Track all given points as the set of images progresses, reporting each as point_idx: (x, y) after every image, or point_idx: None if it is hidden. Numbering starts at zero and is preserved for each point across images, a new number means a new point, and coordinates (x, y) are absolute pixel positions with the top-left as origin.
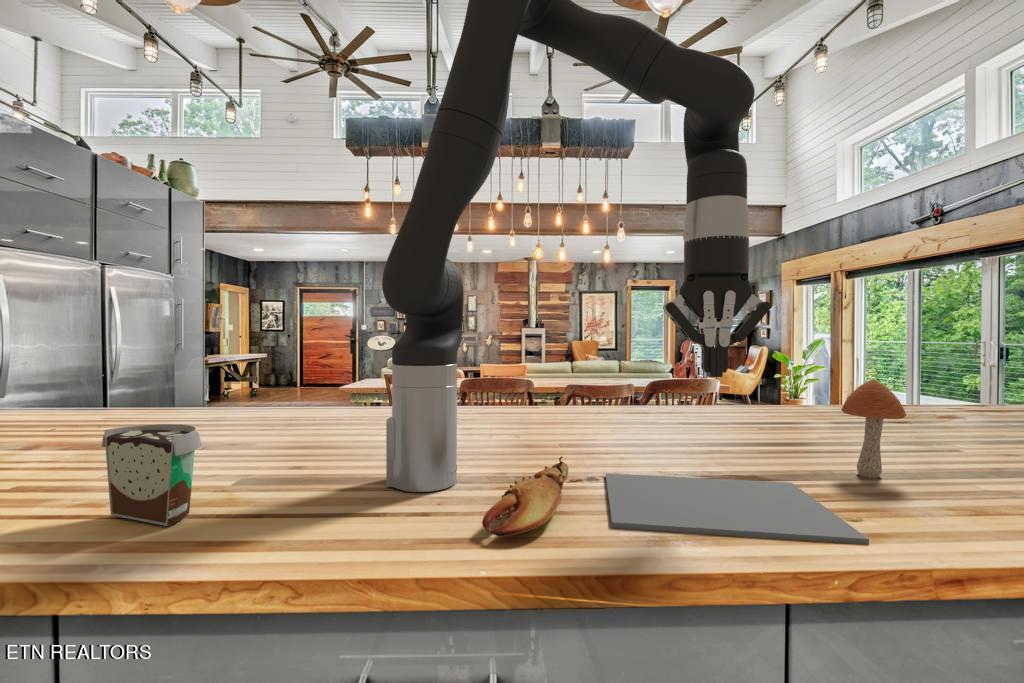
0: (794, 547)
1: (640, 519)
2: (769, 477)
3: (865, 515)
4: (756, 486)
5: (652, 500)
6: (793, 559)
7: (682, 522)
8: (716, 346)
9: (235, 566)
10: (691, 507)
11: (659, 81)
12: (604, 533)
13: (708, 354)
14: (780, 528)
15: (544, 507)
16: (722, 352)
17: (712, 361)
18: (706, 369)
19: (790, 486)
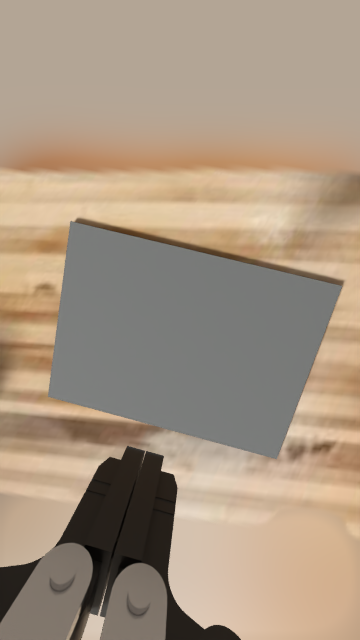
0: (155, 221)
1: (302, 291)
2: (58, 429)
3: (24, 300)
4: (99, 387)
5: (257, 352)
6: (174, 192)
7: (254, 279)
8: (95, 588)
9: None
10: (218, 325)
11: None
12: (354, 270)
13: (153, 536)
14: (148, 254)
15: None
16: (96, 520)
17: (148, 494)
18: (169, 481)
19: (57, 383)
